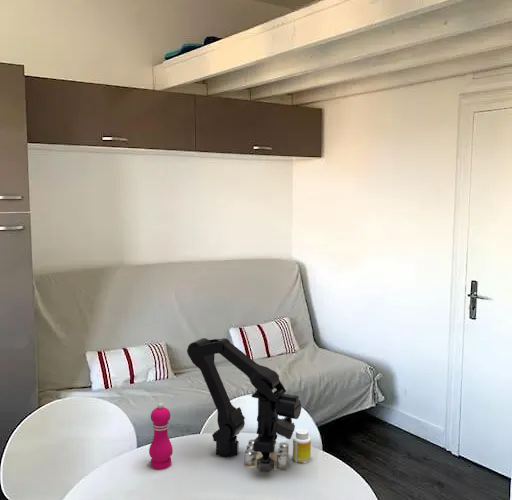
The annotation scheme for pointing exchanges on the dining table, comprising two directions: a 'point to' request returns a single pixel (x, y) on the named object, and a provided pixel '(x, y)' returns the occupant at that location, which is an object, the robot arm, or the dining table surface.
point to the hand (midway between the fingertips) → (266, 460)
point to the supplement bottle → (301, 446)
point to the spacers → (281, 456)
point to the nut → (265, 464)
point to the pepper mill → (160, 438)
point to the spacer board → (273, 456)
